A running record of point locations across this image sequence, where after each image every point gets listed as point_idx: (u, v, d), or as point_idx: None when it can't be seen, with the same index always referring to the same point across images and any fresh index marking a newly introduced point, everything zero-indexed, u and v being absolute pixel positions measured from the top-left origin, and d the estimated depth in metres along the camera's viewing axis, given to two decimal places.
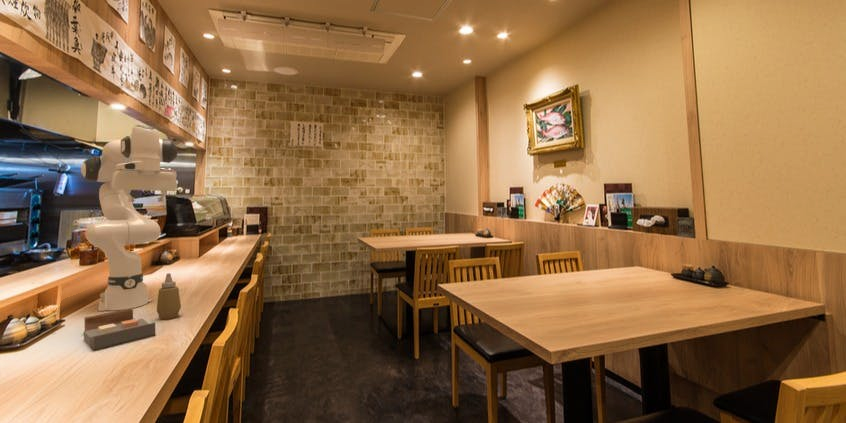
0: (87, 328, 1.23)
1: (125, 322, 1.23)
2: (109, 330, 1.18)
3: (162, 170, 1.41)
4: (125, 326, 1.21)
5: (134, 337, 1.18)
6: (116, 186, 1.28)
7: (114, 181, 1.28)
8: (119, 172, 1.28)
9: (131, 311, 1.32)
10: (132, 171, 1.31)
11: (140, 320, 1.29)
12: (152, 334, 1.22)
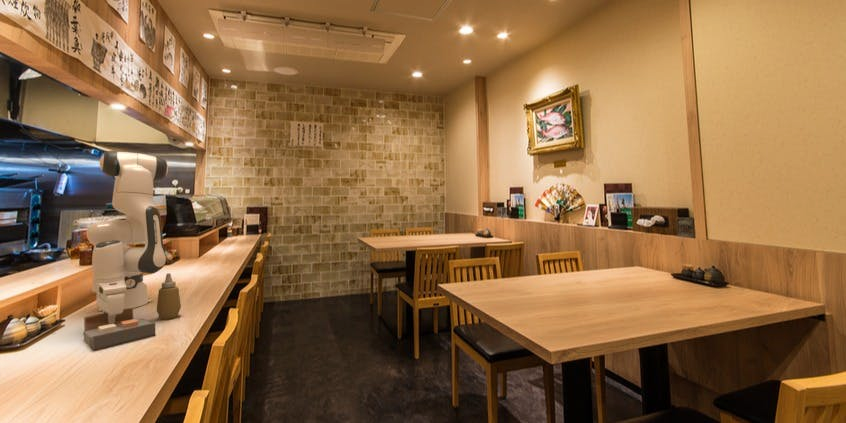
0: (87, 328, 1.23)
1: (125, 322, 1.23)
2: (109, 330, 1.18)
3: None
4: (125, 326, 1.21)
5: (134, 337, 1.18)
6: None
7: (120, 306, 1.23)
8: (124, 295, 1.25)
9: (131, 311, 1.32)
10: None
11: (140, 320, 1.29)
12: (152, 334, 1.22)
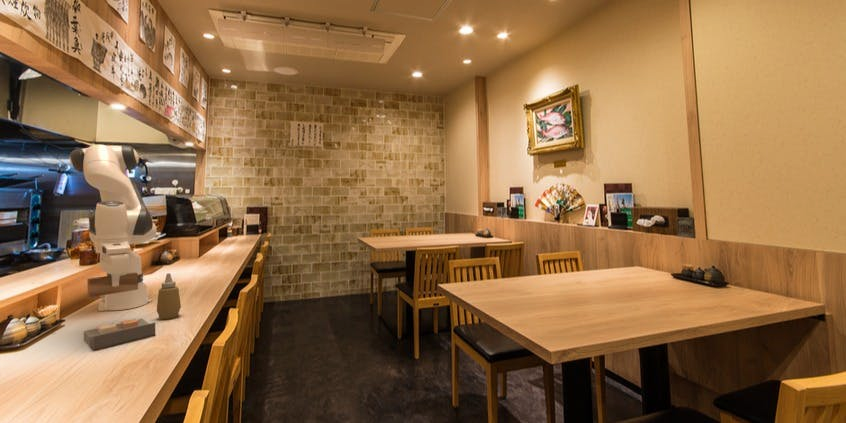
0: (90, 289, 1.18)
1: (125, 322, 1.23)
2: (109, 330, 1.18)
3: None
4: (125, 326, 1.21)
5: (134, 337, 1.18)
6: (127, 271, 1.19)
7: (124, 266, 1.18)
8: (128, 256, 1.20)
9: (136, 274, 1.27)
10: None
11: (140, 320, 1.29)
12: (152, 334, 1.22)
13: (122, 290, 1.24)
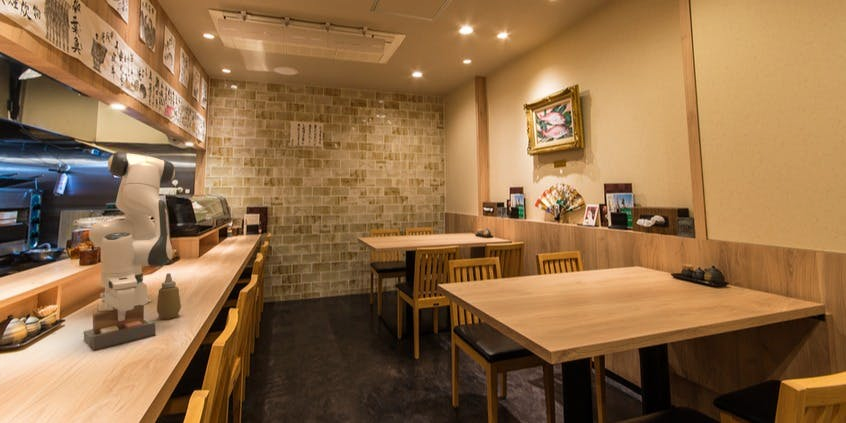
0: (96, 325, 1.15)
1: (129, 324, 1.21)
2: None
3: None
4: None
5: (134, 337, 1.18)
6: (133, 306, 1.17)
7: (131, 301, 1.16)
8: (135, 290, 1.18)
9: (142, 308, 1.25)
10: None
11: None
12: (152, 334, 1.22)
13: None
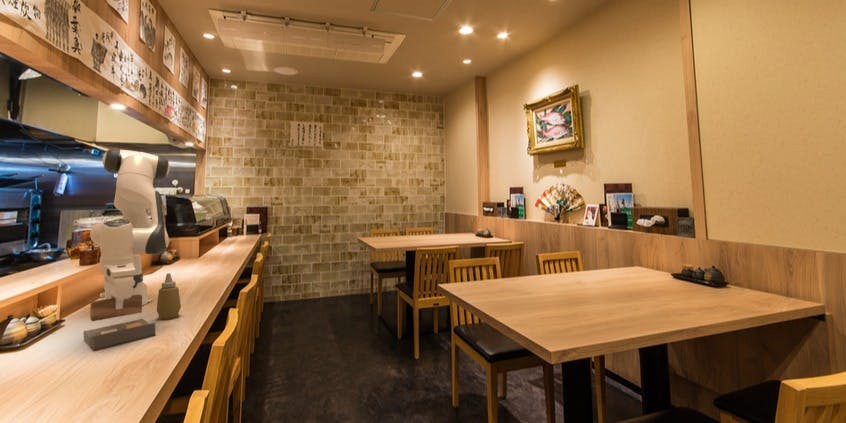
0: (93, 313, 1.14)
1: None
2: None
3: None
4: None
5: (134, 337, 1.18)
6: (131, 295, 1.15)
7: (129, 290, 1.14)
8: (133, 278, 1.16)
9: (140, 297, 1.24)
10: None
11: (140, 320, 1.29)
12: (152, 334, 1.22)
13: (125, 313, 1.21)
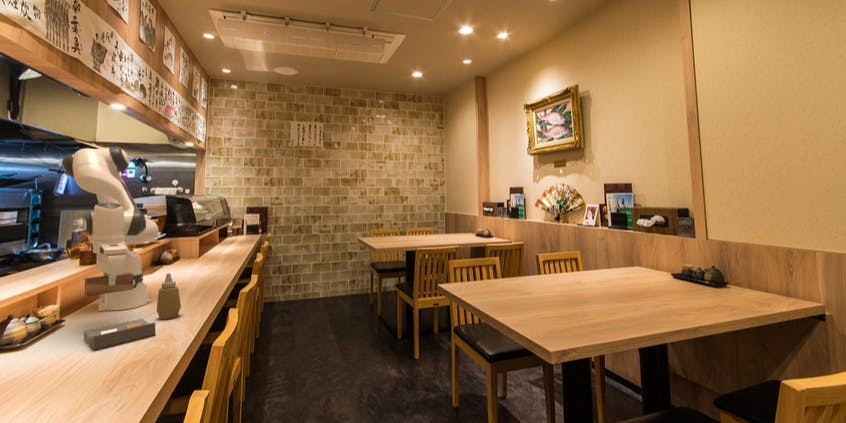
0: (87, 289, 1.22)
1: None
2: None
3: None
4: None
5: (134, 337, 1.18)
6: (123, 271, 1.24)
7: (121, 266, 1.23)
8: (125, 256, 1.25)
9: (131, 275, 1.32)
10: None
11: (140, 320, 1.29)
12: (152, 334, 1.22)
13: (118, 290, 1.29)
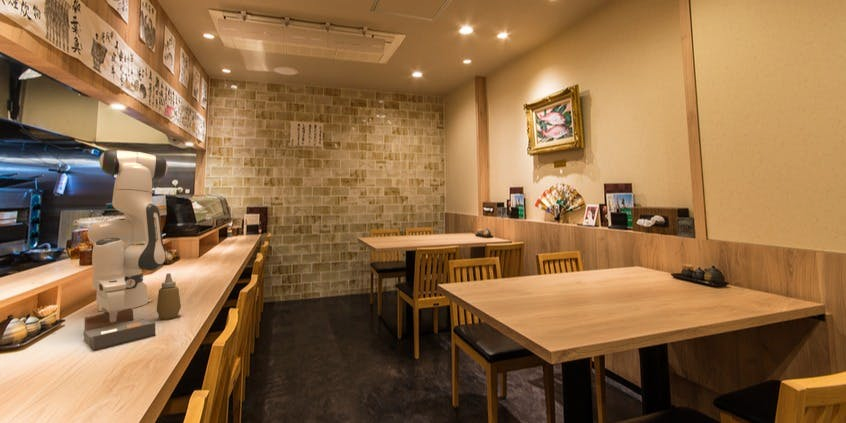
0: (87, 328, 1.23)
1: None
2: None
3: None
4: None
5: (134, 337, 1.18)
6: (123, 307, 1.24)
7: (120, 303, 1.23)
8: (124, 292, 1.25)
9: (131, 311, 1.32)
10: None
11: (140, 320, 1.29)
12: (152, 334, 1.22)
13: None
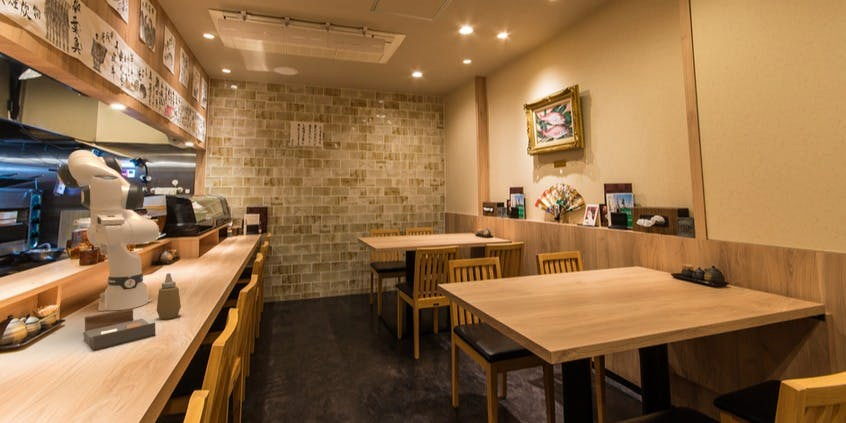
0: (87, 328, 1.23)
1: None
2: None
3: None
4: None
5: (134, 337, 1.18)
6: (121, 242, 1.24)
7: (118, 237, 1.23)
8: (122, 227, 1.25)
9: (131, 311, 1.32)
10: None
11: (140, 320, 1.29)
12: (152, 334, 1.22)
13: None
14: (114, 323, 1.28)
